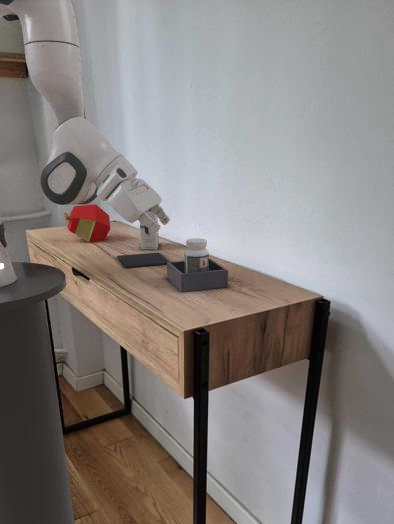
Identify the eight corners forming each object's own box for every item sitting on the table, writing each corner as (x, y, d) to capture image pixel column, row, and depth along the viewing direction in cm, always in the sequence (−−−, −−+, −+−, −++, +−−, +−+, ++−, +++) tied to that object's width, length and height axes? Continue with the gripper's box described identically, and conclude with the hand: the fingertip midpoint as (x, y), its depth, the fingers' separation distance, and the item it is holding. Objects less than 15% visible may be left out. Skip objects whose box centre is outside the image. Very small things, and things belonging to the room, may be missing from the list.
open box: (181, 291, 107) (181, 274, 105) (167, 278, 117) (166, 262, 115) (227, 287, 110) (228, 270, 109) (210, 274, 120) (210, 258, 118)
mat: (126, 268, 125) (126, 266, 125) (117, 257, 135) (117, 255, 135) (170, 264, 129) (170, 262, 128) (158, 254, 139) (158, 252, 139)
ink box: (143, 243, 151) (141, 204, 146) (159, 243, 151) (157, 204, 146) (140, 249, 143) (138, 208, 139) (157, 250, 143) (155, 208, 139)
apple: (110, 249, 153) (63, 236, 146) (102, 243, 164) (57, 231, 157) (120, 211, 151) (72, 196, 144) (111, 208, 161) (66, 194, 154)
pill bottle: (213, 282, 113) (214, 240, 109) (196, 287, 110) (196, 244, 106) (196, 277, 117) (196, 236, 113) (179, 282, 113) (178, 240, 109)
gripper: (123, 185, 117) (164, 227, 120) (93, 196, 99) (142, 245, 102) (140, 166, 115) (181, 209, 117) (112, 173, 96) (162, 224, 99)
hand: (163, 226), depth 109 cm, fingers open, 8 cm apart
